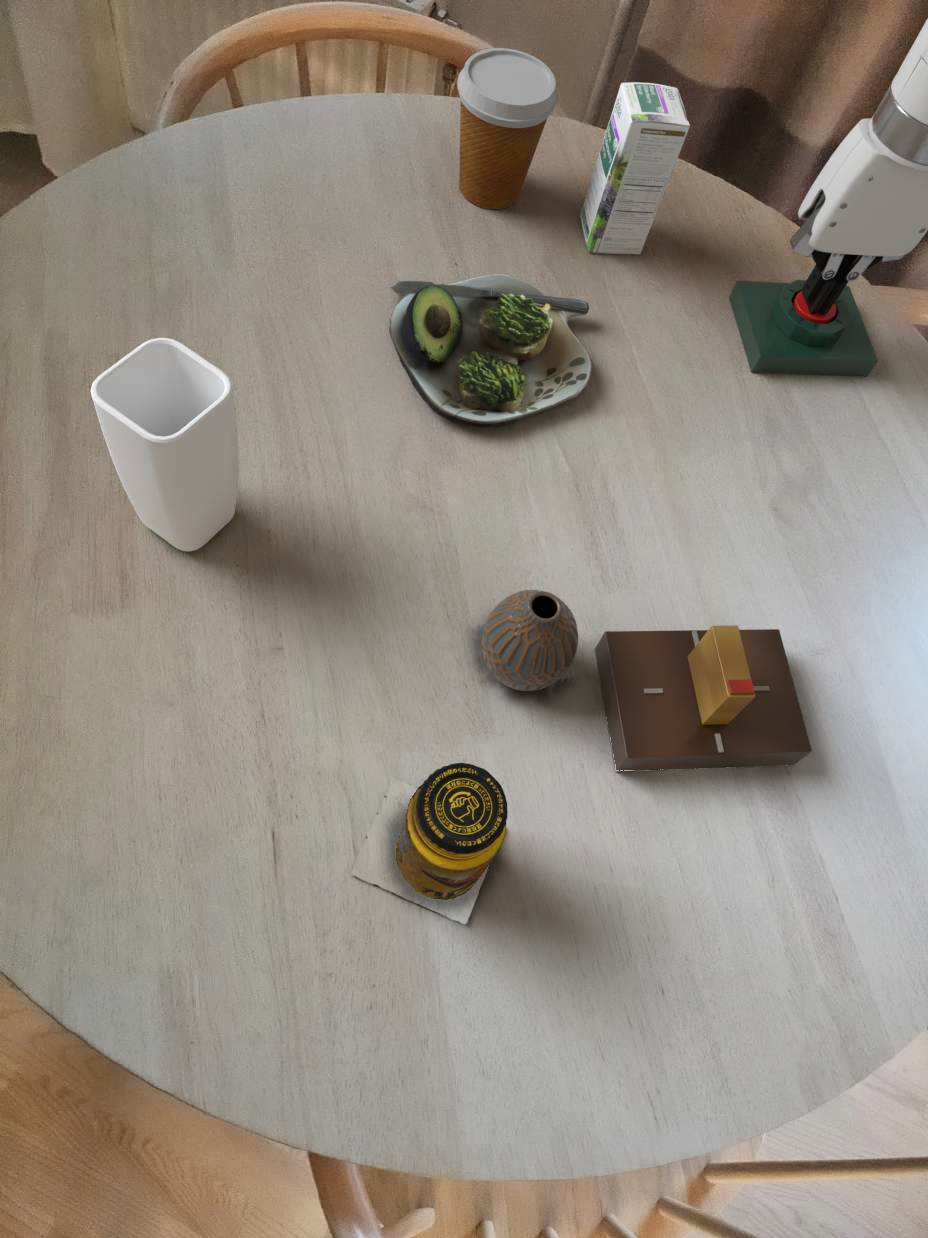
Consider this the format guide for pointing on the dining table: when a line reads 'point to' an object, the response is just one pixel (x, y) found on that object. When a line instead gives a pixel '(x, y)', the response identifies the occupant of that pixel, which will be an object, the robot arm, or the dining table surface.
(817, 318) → the round red push button
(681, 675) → the plate
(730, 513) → the dining table surface
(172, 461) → the cup
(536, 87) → the disposable coffee cup
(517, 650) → the vase
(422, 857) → the condiment
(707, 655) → the thumbturn
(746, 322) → the green button box
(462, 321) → the avocado toast plate
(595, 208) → the syrup box
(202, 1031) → the dining table surface
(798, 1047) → the dining table surface
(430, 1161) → the dining table surface
